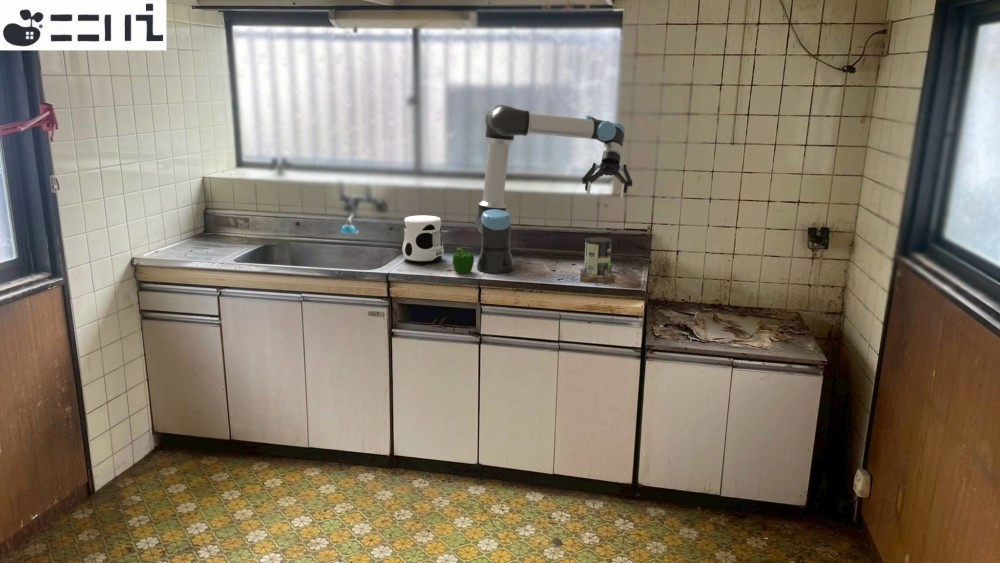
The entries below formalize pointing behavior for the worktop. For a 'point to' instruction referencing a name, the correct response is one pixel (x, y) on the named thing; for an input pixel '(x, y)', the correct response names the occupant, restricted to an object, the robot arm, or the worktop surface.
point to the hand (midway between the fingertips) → (604, 197)
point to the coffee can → (597, 256)
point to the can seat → (605, 279)
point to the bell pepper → (463, 261)
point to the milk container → (422, 239)
